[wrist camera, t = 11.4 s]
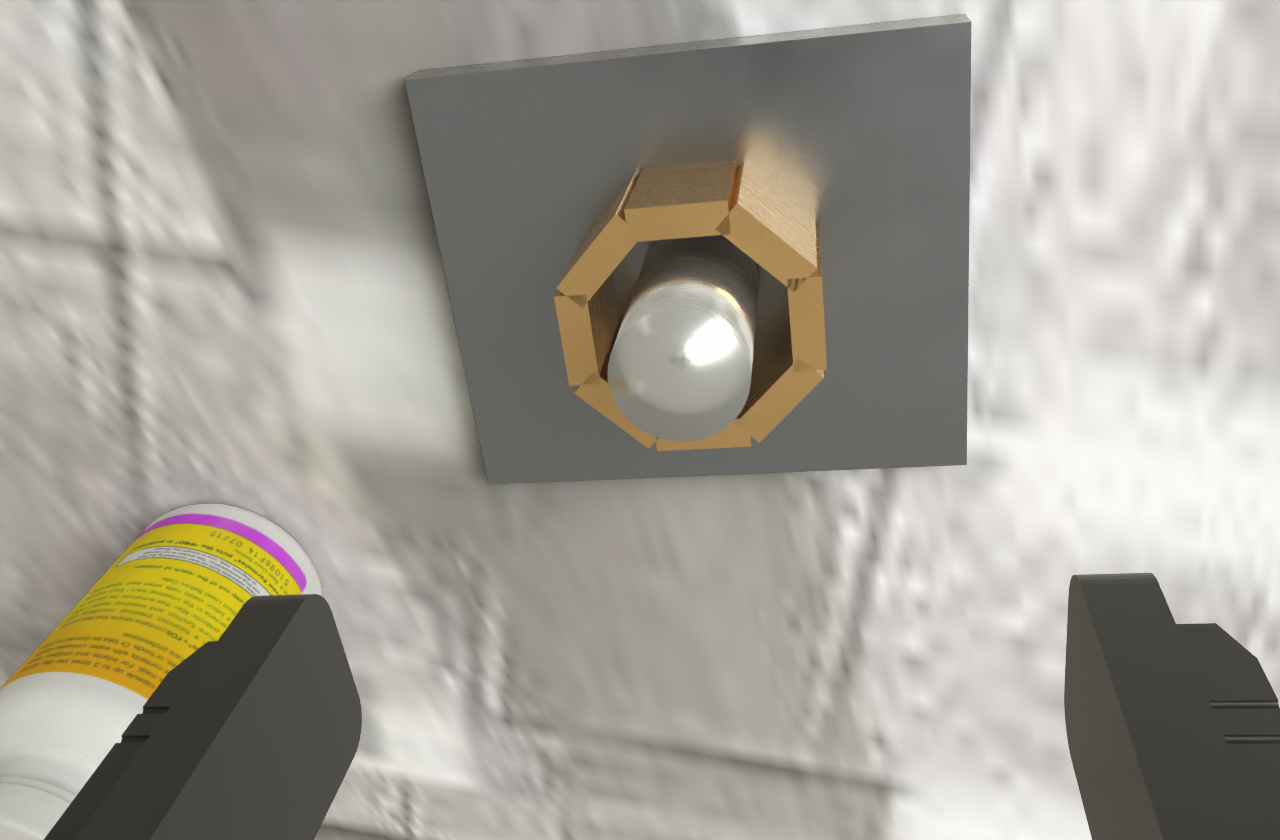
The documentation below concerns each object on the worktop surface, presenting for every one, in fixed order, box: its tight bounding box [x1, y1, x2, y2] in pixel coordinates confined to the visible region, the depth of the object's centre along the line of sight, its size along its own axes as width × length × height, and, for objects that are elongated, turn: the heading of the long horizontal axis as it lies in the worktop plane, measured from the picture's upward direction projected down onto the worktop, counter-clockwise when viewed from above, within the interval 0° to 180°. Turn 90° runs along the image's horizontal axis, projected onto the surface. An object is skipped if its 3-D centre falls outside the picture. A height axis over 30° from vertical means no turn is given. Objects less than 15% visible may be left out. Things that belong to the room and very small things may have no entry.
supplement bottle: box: [0, 503, 323, 840], centre depth 33 cm, size 7×7×13 cm
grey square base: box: [405, 14, 971, 484], centre depth 29 cm, size 14×12×7 cm
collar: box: [554, 160, 827, 451], centre depth 29 cm, size 6×6×4 cm
